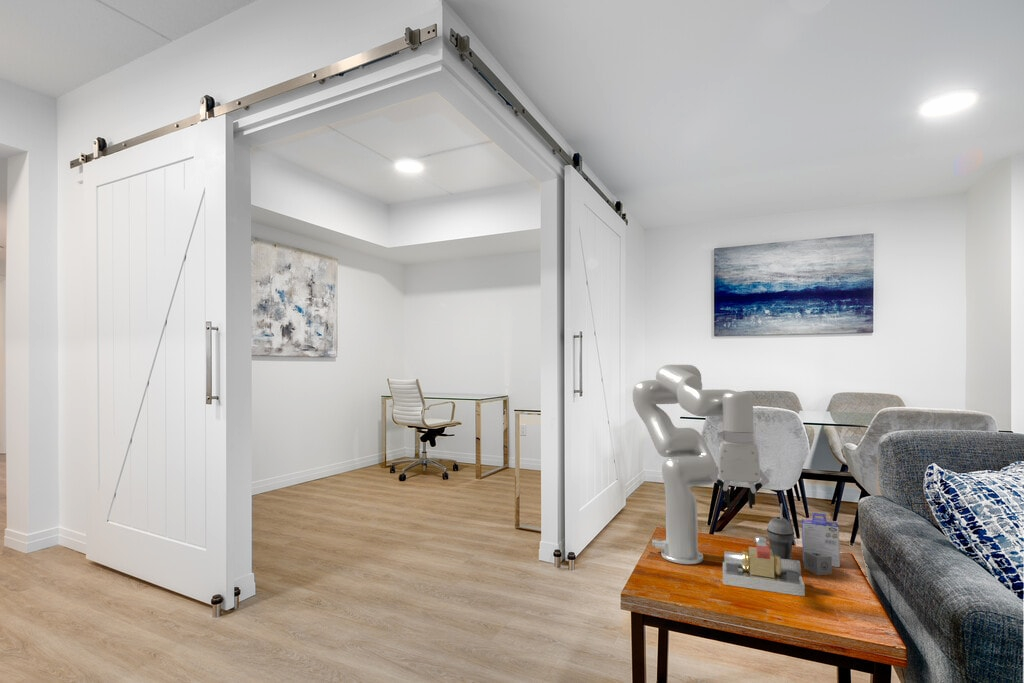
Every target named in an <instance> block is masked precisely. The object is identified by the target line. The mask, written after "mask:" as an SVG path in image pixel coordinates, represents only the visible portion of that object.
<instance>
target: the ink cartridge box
mask: <svg viewBox="0 0 1024 683" xmlns="http://www.w3.org/2000/svg"><path fill="white" fill-rule="evenodd" d="M826 515H827V514H825V513H818V512H817V513H816V512H812V519H805V518H802V519H801V542H802V561H803V563H804V552H806V551H820V552H823V553H825V554H827V555H829V556H831V557H832V567H836V568H840V566H841V562H840V561H841V560H840V557H841V555H840V552H841V551H840V526H839V525H838V523H837V522H834V521H827V516H826ZM819 516H820V517H822V518H819Z"/></svg>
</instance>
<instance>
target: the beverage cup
mask: <svg viewBox="0 0 1024 683" xmlns="http://www.w3.org/2000/svg"><path fill="white" fill-rule="evenodd" d="M779 513H780V516H776V517H772V518H771V519H770V520H769V522H768V523H767V529H766V531H767V537H768V540H769V549H772V551H773V555H776V556H780V558H781V559H789V560H792V552H793V551H792V550H793V541H794V535H795V529H794V527H793V525H792V523H791V522H790V521H789V520H788V519H786V518H785V517H783V503H780V512H779Z"/></svg>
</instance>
